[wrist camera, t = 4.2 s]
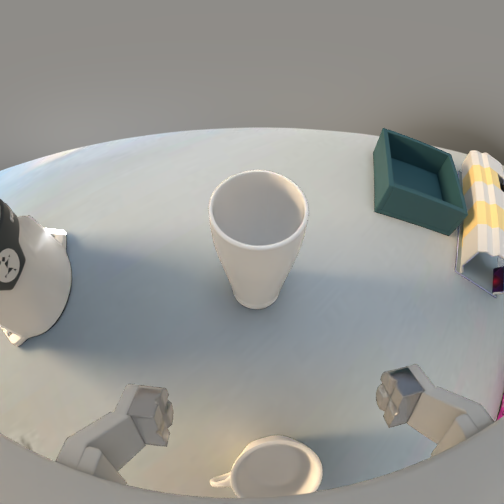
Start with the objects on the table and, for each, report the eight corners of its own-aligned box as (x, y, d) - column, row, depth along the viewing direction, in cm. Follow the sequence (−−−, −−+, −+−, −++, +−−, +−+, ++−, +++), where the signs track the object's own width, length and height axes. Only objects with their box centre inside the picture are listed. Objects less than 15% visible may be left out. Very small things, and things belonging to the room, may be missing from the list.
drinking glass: (266, 251, 33) (275, 157, 20) (297, 298, 30) (331, 221, 17) (215, 277, 32) (191, 190, 18) (244, 328, 29) (236, 269, 16)
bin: (374, 211, 36) (389, 185, 31) (373, 152, 42) (382, 127, 37) (448, 236, 34) (468, 215, 29) (437, 176, 41) (451, 154, 35)
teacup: (301, 421, 24) (312, 428, 19) (317, 481, 20) (330, 497, 16) (205, 442, 23) (195, 452, 18) (224, 501, 19) (218, 521, 14)
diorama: (496, 298, 29) (551, 260, 18) (454, 271, 32) (509, 221, 20) (492, 195, 39) (523, 154, 28) (457, 170, 42) (485, 124, 30)
